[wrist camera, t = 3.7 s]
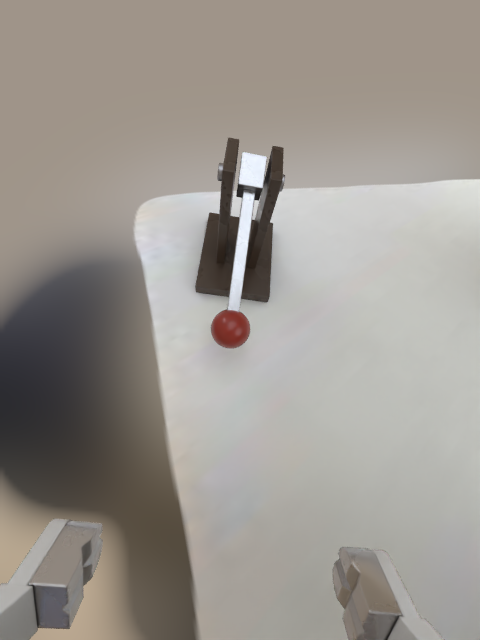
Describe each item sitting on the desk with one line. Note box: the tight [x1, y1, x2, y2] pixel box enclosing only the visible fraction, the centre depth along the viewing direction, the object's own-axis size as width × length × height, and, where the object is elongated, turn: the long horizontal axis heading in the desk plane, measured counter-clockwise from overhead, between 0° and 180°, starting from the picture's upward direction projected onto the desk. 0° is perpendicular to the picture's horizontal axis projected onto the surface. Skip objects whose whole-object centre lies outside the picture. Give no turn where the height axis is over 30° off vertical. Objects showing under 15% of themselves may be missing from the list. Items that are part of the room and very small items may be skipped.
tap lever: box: [211, 152, 267, 348], centre depth 23 cm, size 17×4×4 cm, turn 175°
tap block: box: [195, 138, 285, 302], centre depth 28 cm, size 12×9×14 cm
